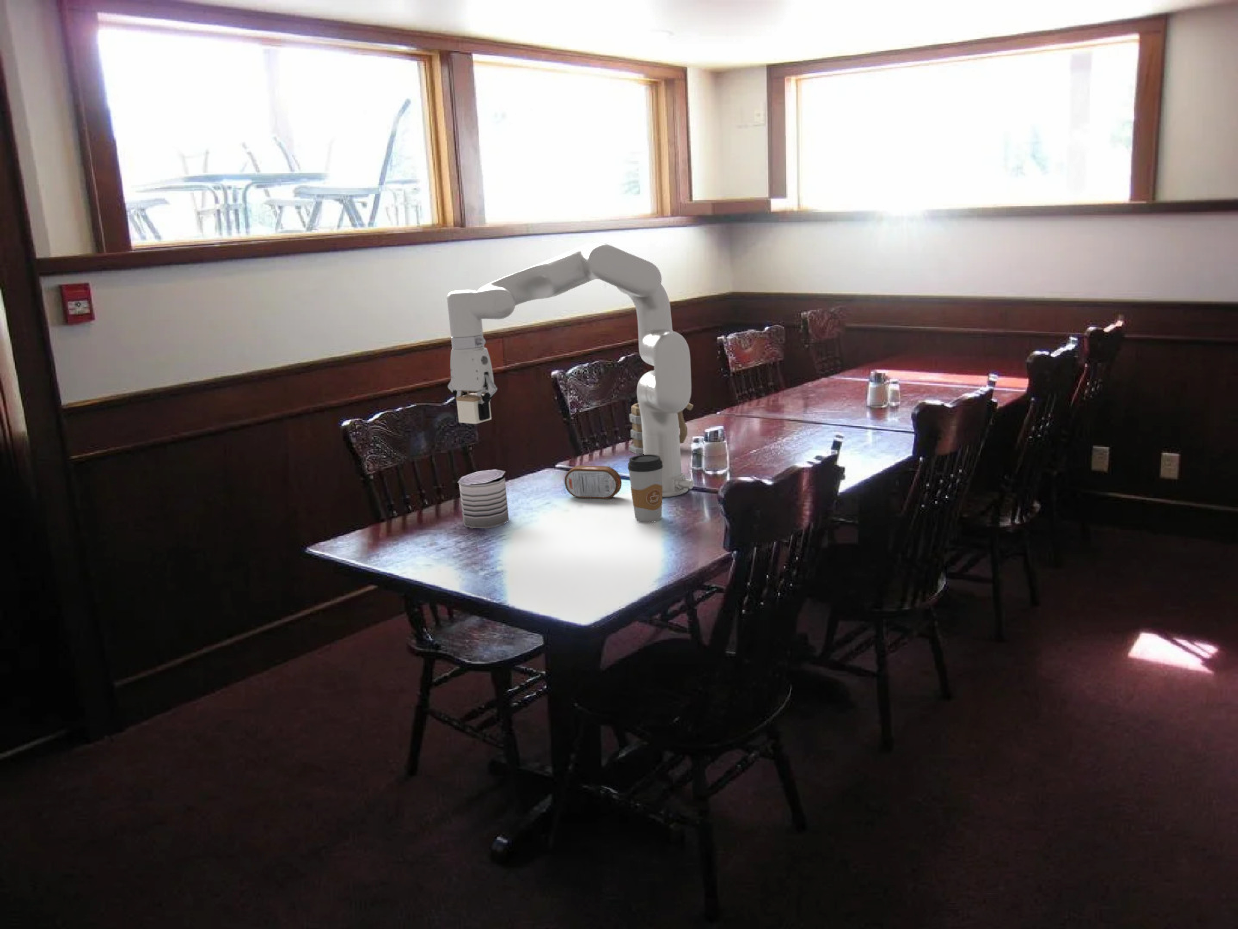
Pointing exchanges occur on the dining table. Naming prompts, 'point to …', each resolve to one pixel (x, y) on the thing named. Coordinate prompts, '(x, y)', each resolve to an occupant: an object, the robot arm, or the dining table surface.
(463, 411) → the cream block
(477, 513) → the can
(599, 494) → the tin
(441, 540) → the dining table surface
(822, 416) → the dining table surface
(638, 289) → the robot arm
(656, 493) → the coffee cup
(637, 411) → the tankard
